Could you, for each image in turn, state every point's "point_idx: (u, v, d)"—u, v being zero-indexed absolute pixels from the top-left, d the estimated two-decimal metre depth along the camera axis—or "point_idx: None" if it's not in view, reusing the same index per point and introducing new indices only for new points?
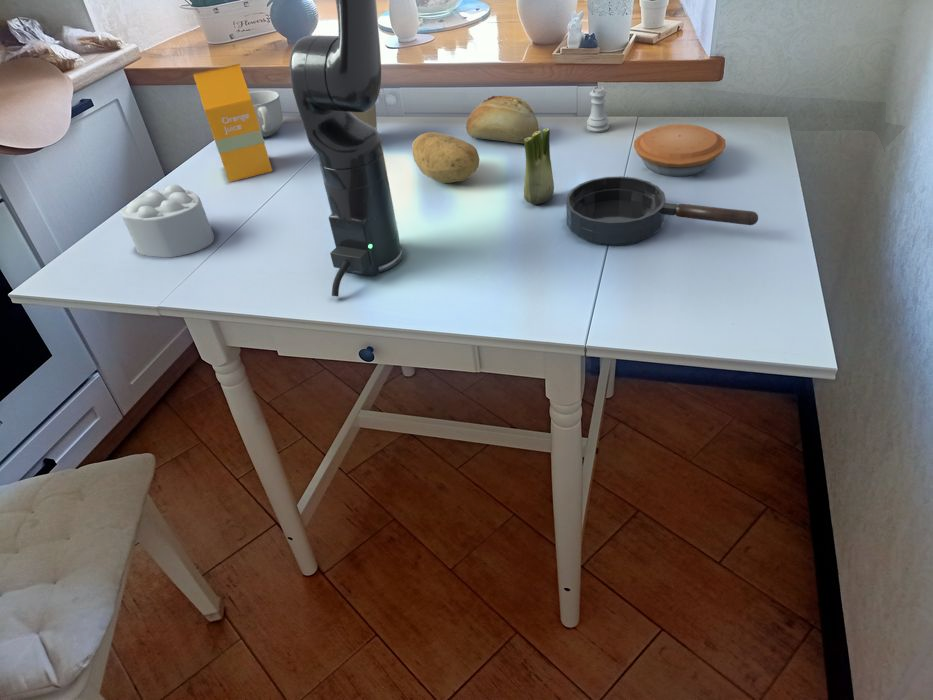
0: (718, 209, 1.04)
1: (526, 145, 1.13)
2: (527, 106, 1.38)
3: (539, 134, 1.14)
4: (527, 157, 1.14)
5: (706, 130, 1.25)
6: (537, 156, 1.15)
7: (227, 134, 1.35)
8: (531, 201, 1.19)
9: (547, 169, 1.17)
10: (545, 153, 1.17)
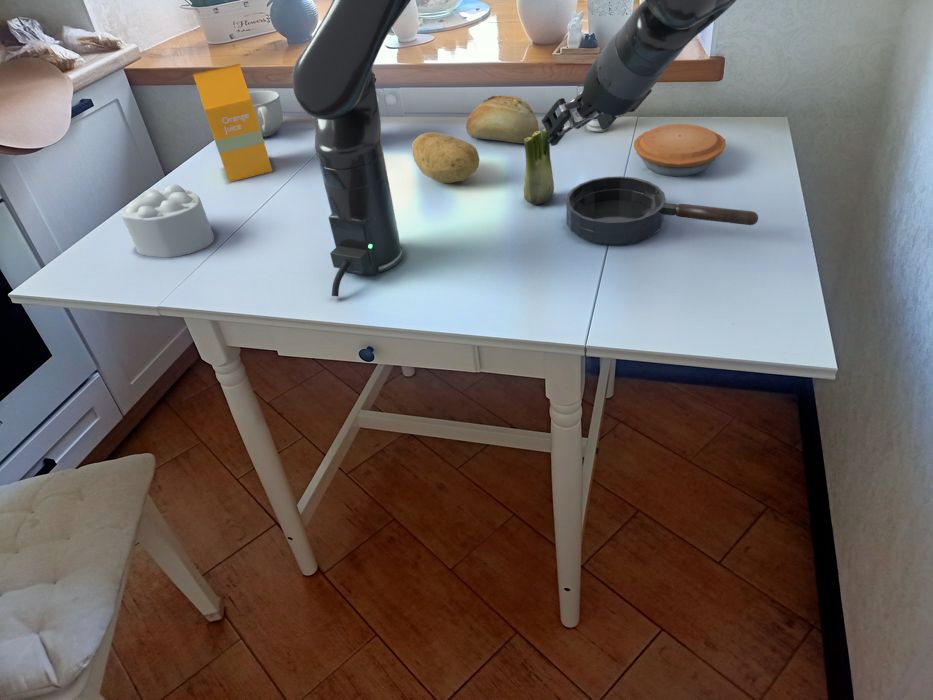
0: (718, 209, 1.04)
1: (526, 145, 1.13)
2: (527, 106, 1.38)
3: (539, 134, 1.14)
4: (527, 157, 1.14)
5: (706, 130, 1.25)
6: (537, 156, 1.15)
7: (227, 134, 1.35)
8: (531, 201, 1.19)
9: (547, 169, 1.17)
10: (545, 153, 1.17)
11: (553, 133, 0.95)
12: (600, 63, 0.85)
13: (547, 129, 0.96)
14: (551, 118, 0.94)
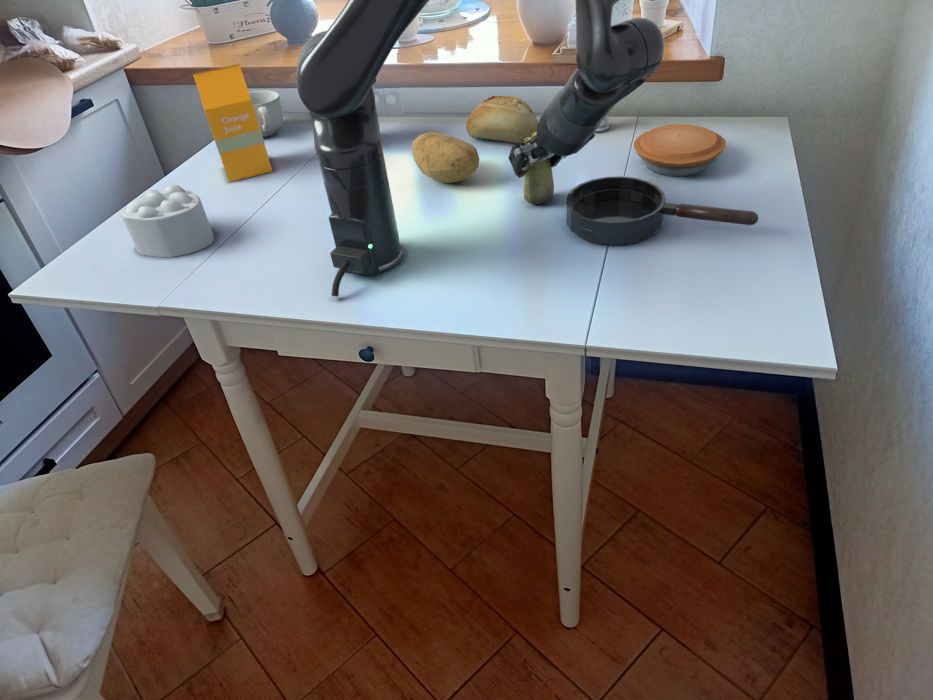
0: (718, 209, 1.04)
1: None
2: (527, 106, 1.38)
3: None
4: (527, 157, 1.14)
5: (706, 130, 1.25)
6: (537, 156, 1.15)
7: (227, 134, 1.35)
8: (531, 201, 1.19)
9: (547, 169, 1.17)
10: None
11: (517, 169, 1.12)
12: (548, 114, 1.01)
13: (513, 165, 1.12)
14: (512, 158, 1.10)
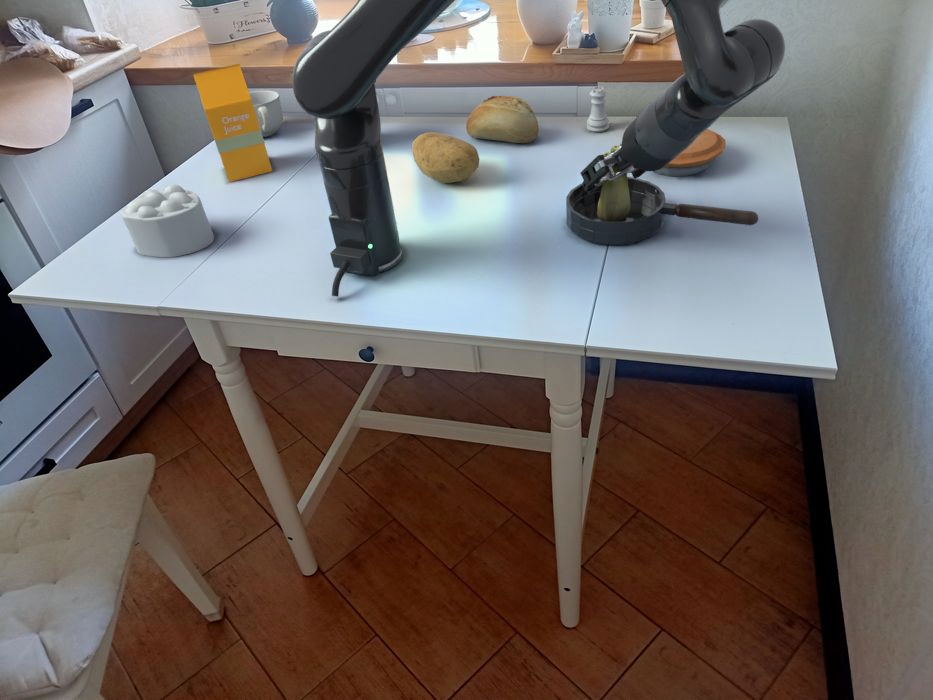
0: (718, 209, 1.04)
1: None
2: (527, 106, 1.38)
3: None
4: None
5: (706, 130, 1.25)
6: (615, 172, 1.07)
7: (227, 134, 1.35)
8: (606, 220, 1.10)
9: (624, 186, 1.09)
10: None
11: (591, 185, 1.02)
12: (639, 126, 0.92)
13: (585, 181, 1.03)
14: (590, 171, 1.01)
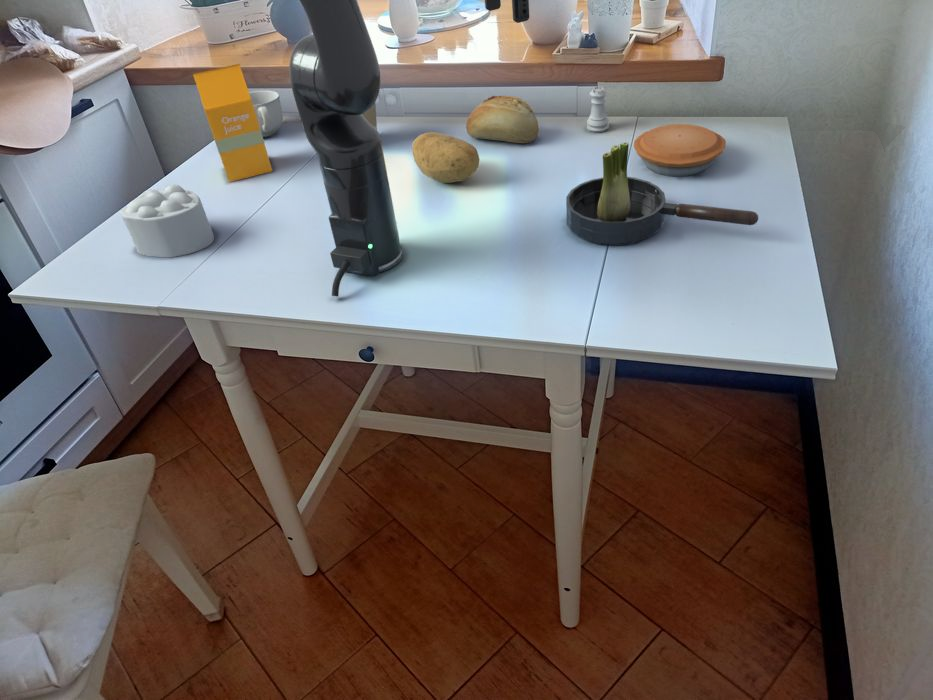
0: (718, 209, 1.04)
1: (605, 161, 1.04)
2: (527, 106, 1.38)
3: (618, 149, 1.05)
4: (605, 173, 1.06)
5: (706, 130, 1.25)
6: (615, 172, 1.07)
7: (227, 134, 1.35)
8: (606, 220, 1.10)
9: (624, 186, 1.09)
10: (622, 169, 1.08)
11: None
12: None
13: None
14: None
